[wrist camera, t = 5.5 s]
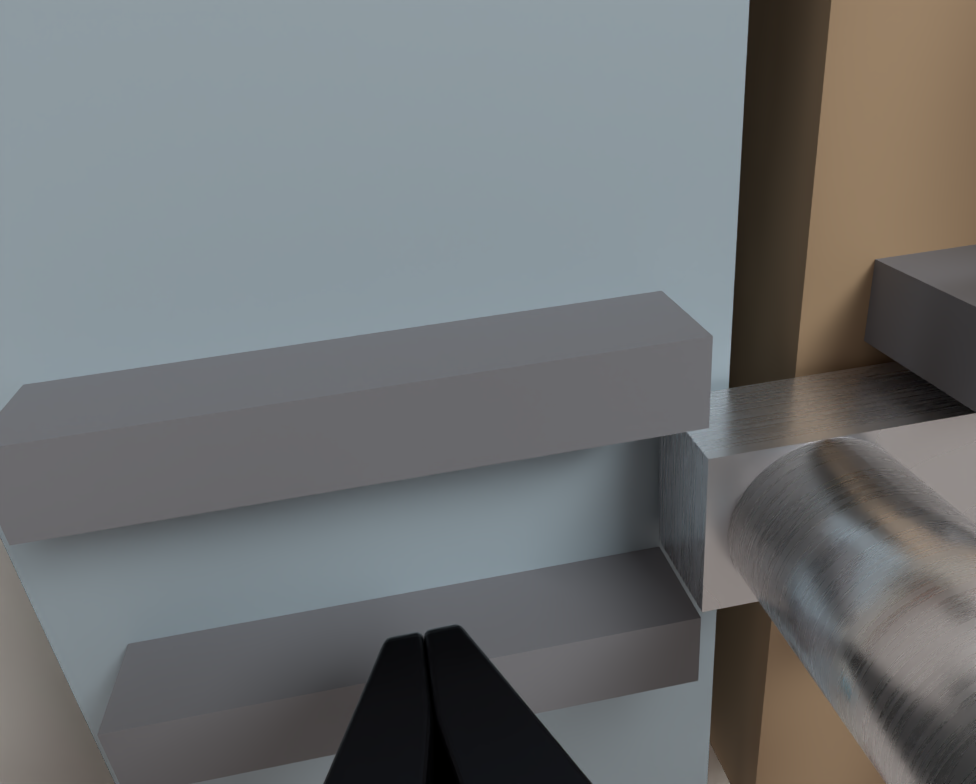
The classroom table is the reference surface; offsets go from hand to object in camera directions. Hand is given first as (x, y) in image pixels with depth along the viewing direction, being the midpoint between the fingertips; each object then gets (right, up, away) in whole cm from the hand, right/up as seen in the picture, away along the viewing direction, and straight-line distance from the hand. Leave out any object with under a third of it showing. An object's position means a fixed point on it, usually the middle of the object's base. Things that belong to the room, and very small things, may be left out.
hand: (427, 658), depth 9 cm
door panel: (-1, +3, +5) cm, 6 cm away
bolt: (+7, +2, +3) cm, 8 cm away
